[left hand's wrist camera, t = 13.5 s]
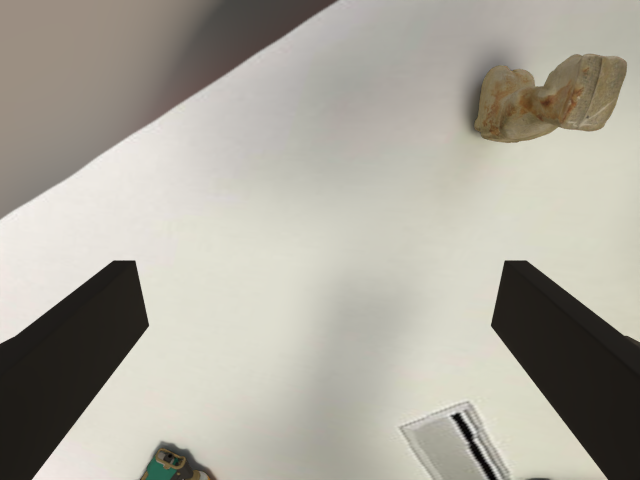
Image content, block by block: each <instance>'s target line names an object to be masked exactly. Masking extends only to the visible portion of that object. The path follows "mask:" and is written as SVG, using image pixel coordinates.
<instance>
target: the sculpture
mask: <svg viewBox="0 0 640 480" xmlns="http://www.w3.org/2000/svg"><path fill="white" fill-rule="evenodd" d="M626 70H627V62H626V61H625V60H624V59H622V58H620V57H617V56H608V57H605V56H599V55H595V54H586V55H583V56H581V55H578V54H576V55H572V56H570V57H569V58H568V59H566V60H565V61H564V62H562V63H561V64H560V65H558V66H557V68H556V69H555V70H554V71H552V72H551V73H550V74H549V76H548V78H547V80H546V82H545V85H544V86H543V87H535V83H534V78H533V76H532V74H530V73H529V72H528V71H525V70H522V69H516V70H513V71H511V70H510V69H509V68H508V67H507V66H501V65H499V66H496V67H494V68H492V69H491V70H490V71H489V72H488V73H487V75H486V76H485V78H484V81H483V84H482V88H481V94H480V102H479V112H478V117H477V119H476V120H475V123H474V127H475V129H476V130H477V131H480V132H481V136H482V137H483V138H484V139H488V140H492V141H497V142H505V143H511V142H519V141H525V140H531V139H535V138H537V137H540V136H543V135H546V134H549V133H551V132H552V131H554V130H555V129H556V128H558V127H561V128H564V129H574V130H583V131H595V130H599V129H601V128H602V127H604V125H605V123H606V121H607V120H608V119H609V117H610V116H611V114H612V112H613V110H614V107H615V105H616V102H617V99H618V96H619V92H620V89H621V86H622V84H623V81H624V78H625V76H626Z"/></svg>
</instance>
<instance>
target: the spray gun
mask: <svg viewBox="0 0 640 480" xmlns="http://www.w3.org/2000/svg"><path fill="white" fill-rule="evenodd" d="M160 451H164V452H166V453H167V454H164V453H162V452H160ZM174 457H176V458H174ZM177 458H178V459H183V461H182V460H181V461H180V462H178V459H177ZM182 479H184V480H210V478H209V477H208V475H207V474H205V473H204V472H202V471H198V470H193V471H192V469H191V467H190V465H189V464H188V462H187V460H186V458H185V457H184V456H179V455H177V454H174V453H172V452H170V451H168V450H166V449H164V448H161V449H159V450H158V452H157V453H156V455H155V456H154V458H153V459H152V460H151V462H150V463H149V465H148V467H147V471H146V472H145V474H144V475H143V477H142V478H141V480H182Z"/></svg>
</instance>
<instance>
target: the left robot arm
mask: <svg viewBox="0 0 640 480" xmlns="http://www.w3.org/2000/svg"><path fill="white" fill-rule="evenodd" d="M148 327H149V323H148V318H147V314H146V309H145V304H144V300H143V295H142V290H141V285H140V281H139V276H138V271H137V267H136V262H135V261H112V262H111V263H110V264H109V265H107V266H106V267H105V268H103V269H102V270H101V271H99V272H98V273H97V274H96V275H94V276H93V277H92V278H90V279H89V280H88V281H86V282H85V283H84V284H83V285H81V286H80V287H79V288H77V289H76V290H75V291H73V292H72V293H71V294H70V295H68V296H67V297H66V298H64V299H63V300H62V301H60V302H59V303H58V304H57V305H55V306H54V307H53V308H51V309H50V310H49V311H47V312H46V313H45V314H44V315H42V316H41V317H40V318H38V319H37V320H36V321H34V322H33V323H32V324H31V325H29V326H28V327H27V328H25V329H24V330H23V331H22V332H20V333H19V334H18V335H16V336H15V337H13V338H11V339H9V340H7V341H5V342H3V343H1V344H0V480H32V479H33V477H34V476H35V475H36V473H37V472H38V471H39V470H40V468H41V467H42V466H43V464H44V463H45V462H46V460H47V459H48V458H49V456H50V455H51V454H52V452H53V451H54V450H55V449H56V447H57V446H58V445H59V443H60V442H61V441H62V439H63V438H64V437H65V435H66V434H67V433H68V431H69V430H70V429H71V428H72V426H73V425H74V424H75V422H76V421H77V420H78V418H79V417H80V416H81V414H82V413H83V412H84V411H85V409H86V408H87V407H88V405H89V404H90V403H91V401H92V400H93V399H94V397H95V396H96V395H97V393H98V392H99V391H100V390H101V388H102V387H103V386H104V384H105V383H106V382H107V380H108V379H109V378H110V376H111V375H112V374H113V372H114V371H115V370H116V369H117V367H118V366H119V365H120V363H121V362H122V361H123V359H124V358H125V357H126V355H127V354H128V353H129V352H130V350H131V349H132V348H133V346H134V345H135V344H136V342H137V341H138V340H139V338H140V337H141V336H142V334H143V333H144V332H145V331H146V329H147V328H148ZM491 327H492V328H493V329H494V331H495V332H496V333H497V334H498V336H499V337H500V338H501V340H502V341H503V342H504V344H505V345H506V346H507V348H508V349H509V350H510V352H511V353H512V354H513V355H514V357H515V358H516V359H517V361H518V362H519V363H520V365H521V366H522V367H523V369H524V370H525V371H526V372H527V374H528V375H529V376H530V378H531V379H532V380H533V382H534V383H535V384H536V386H537V387H538V388H539V390H540V391H541V392H542V393H543V395H544V396H545V397H546V399H547V400H548V401H549V403H550V404H551V405H552V407H553V408H554V409H555V411H556V412H557V413H558V414H559V416H560V417H561V418H562V420H563V421H564V422H565V424H566V425H567V426H568V428H569V429H570V430H571V431H572V433H573V434H574V435H575V437H576V438H577V439H578V441H579V442H580V443H581V445H582V446H583V447H584V449H585V450H586V451H587V452H588V454H589V455H590V456H591V458H592V459H593V460H594V462H595V463H596V464H597V466H598V467H599V468H600V470H601V471H602V472H603V473H604V475H605V476H606V477H607V479H608V480H640V342H638V341H636V340H634V339H632V338H630V337H628V336H624V335H622V334H621V333H620V332H618V331H617V330H616V329H615V328H613V327H612V326H611V325H609V324H608V323H607V322H606V321H604V320H603V319H602V318H600V317H599V316H598V315H596V314H595V313H594V312H593V311H591V310H590V309H589V308H587V307H586V306H585V305H583V304H582V303H581V302H580V301H578V300H577V299H576V298H574V297H573V296H572V295H570V294H569V293H568V292H567V291H565V290H564V289H563V288H561V287H560V286H559V285H557V284H556V283H555V282H554V281H552V280H551V279H550V278H548V277H547V276H546V275H544V274H543V273H542V272H541V271H539V270H538V269H537V268H535V267H534V266H533V265H531V264H530V263H529V262H528V261H505V262H504V267H503V271H502V276H501V281H500V285H499V290H498V295H497V300H496V304H495V309H494V314H493V318H492V323H491Z"/></svg>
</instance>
